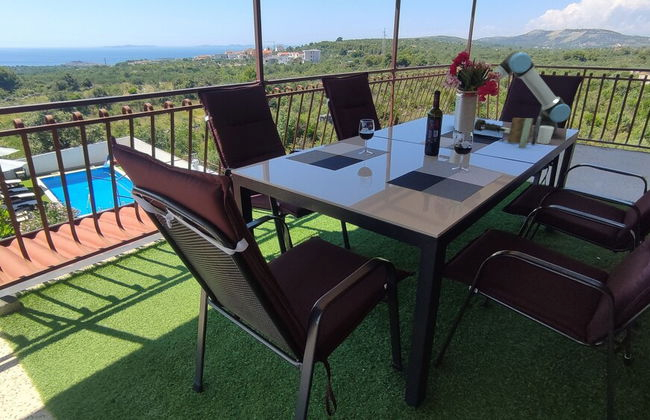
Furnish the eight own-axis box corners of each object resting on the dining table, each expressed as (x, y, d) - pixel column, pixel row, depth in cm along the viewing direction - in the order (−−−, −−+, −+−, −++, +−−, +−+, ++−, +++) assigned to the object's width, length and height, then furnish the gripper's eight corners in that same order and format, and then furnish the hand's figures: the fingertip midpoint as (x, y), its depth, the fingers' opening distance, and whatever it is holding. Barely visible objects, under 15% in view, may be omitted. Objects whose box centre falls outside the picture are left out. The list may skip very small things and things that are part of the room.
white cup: (548, 145, 229) (553, 128, 225) (534, 143, 233) (538, 127, 229) (550, 142, 235) (555, 126, 231) (537, 140, 239) (541, 125, 235)
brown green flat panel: (527, 142, 232) (533, 118, 226) (528, 143, 231) (534, 118, 225) (507, 141, 233) (512, 117, 227) (508, 142, 232) (513, 118, 226)
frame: (532, 143, 231) (539, 116, 224) (535, 144, 230) (542, 116, 223) (518, 147, 223) (525, 118, 216) (522, 148, 222) (528, 119, 215)
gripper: (482, 129, 255) (514, 135, 237) (470, 131, 248) (503, 138, 230) (484, 118, 251) (517, 124, 234) (472, 120, 245) (505, 126, 227)
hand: (510, 131), depth 232 cm, fingers closed
